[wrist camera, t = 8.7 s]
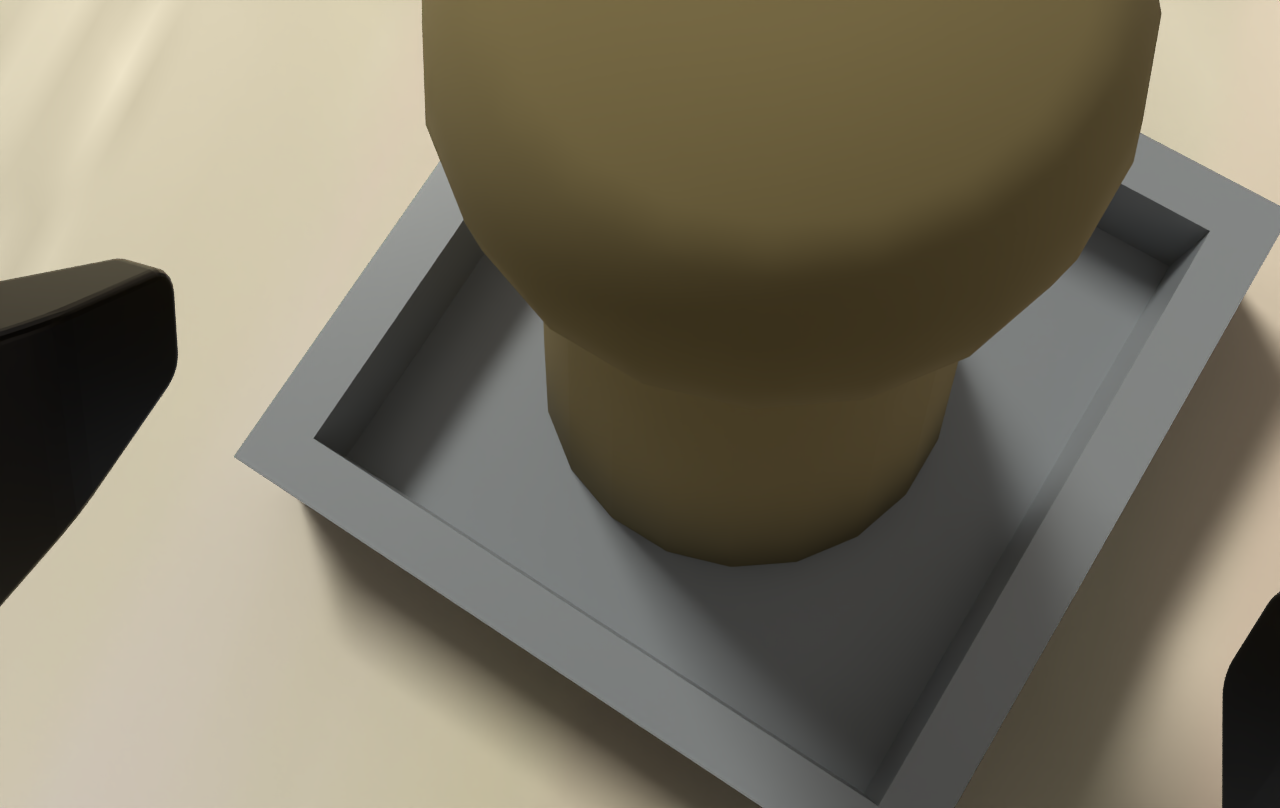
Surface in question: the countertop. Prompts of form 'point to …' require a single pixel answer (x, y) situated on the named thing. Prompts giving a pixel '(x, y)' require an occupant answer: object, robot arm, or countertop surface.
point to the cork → (775, 228)
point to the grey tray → (784, 592)
